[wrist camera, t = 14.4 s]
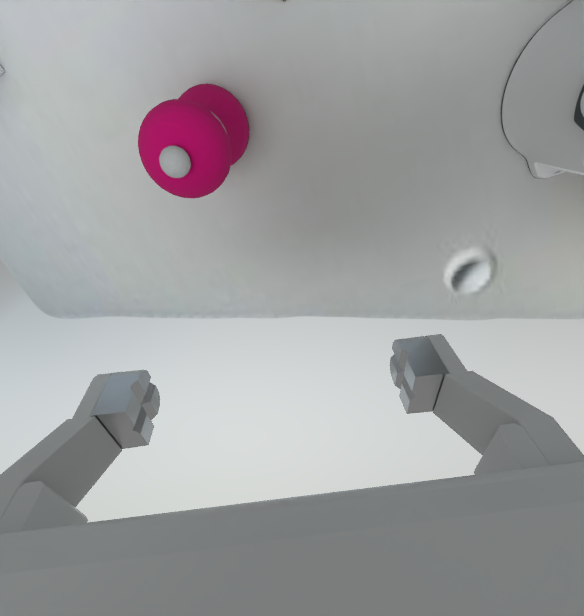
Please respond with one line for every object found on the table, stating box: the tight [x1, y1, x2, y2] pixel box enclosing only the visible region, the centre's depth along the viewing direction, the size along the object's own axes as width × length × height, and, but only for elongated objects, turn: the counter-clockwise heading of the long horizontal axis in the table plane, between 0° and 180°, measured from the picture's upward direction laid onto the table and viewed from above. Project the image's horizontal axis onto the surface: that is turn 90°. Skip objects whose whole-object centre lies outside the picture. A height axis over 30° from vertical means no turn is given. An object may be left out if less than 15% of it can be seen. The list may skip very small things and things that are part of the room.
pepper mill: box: [138, 84, 249, 198], centre depth 27 cm, size 7×7×20 cm
